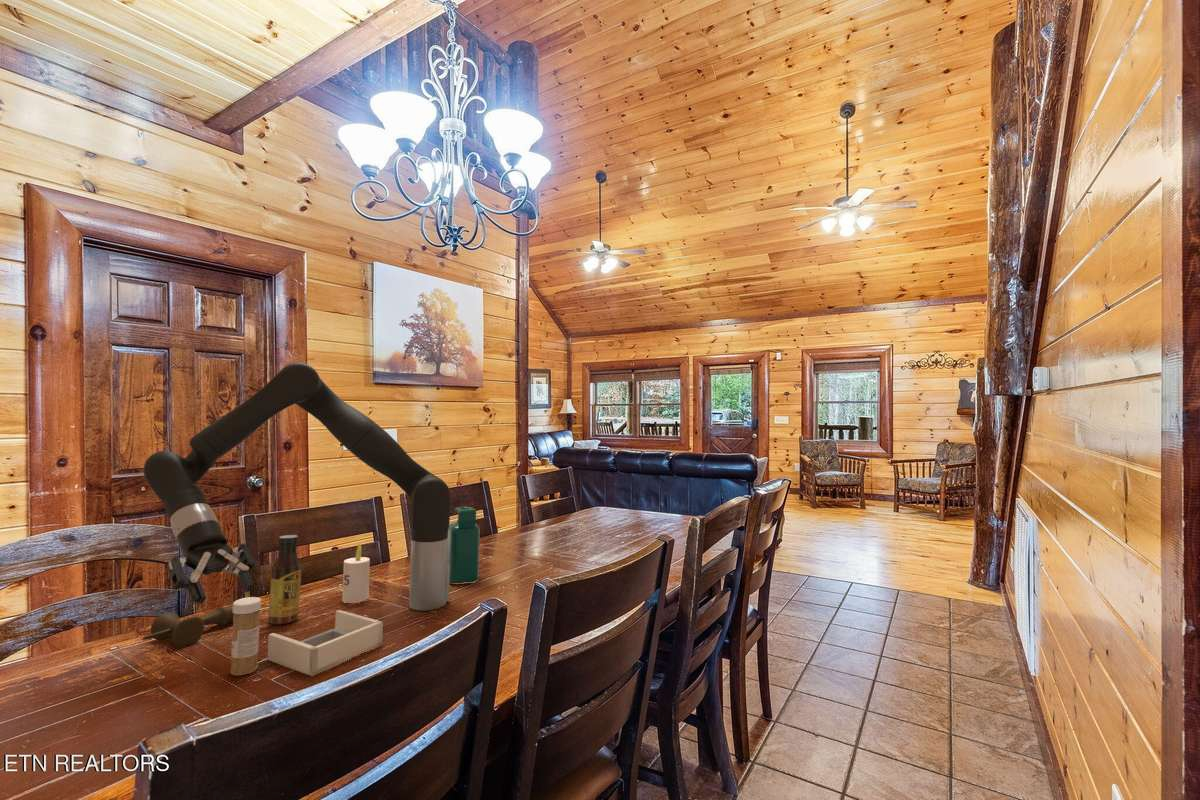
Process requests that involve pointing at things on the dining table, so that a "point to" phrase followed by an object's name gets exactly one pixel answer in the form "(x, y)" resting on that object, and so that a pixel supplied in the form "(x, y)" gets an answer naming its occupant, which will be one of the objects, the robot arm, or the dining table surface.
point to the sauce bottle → (285, 583)
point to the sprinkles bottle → (245, 635)
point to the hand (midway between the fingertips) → (226, 595)
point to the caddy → (327, 644)
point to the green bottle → (463, 547)
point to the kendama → (187, 626)
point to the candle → (356, 578)
